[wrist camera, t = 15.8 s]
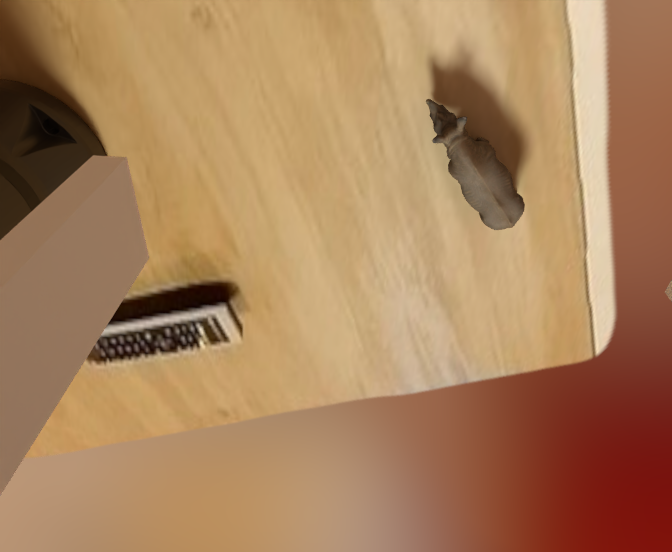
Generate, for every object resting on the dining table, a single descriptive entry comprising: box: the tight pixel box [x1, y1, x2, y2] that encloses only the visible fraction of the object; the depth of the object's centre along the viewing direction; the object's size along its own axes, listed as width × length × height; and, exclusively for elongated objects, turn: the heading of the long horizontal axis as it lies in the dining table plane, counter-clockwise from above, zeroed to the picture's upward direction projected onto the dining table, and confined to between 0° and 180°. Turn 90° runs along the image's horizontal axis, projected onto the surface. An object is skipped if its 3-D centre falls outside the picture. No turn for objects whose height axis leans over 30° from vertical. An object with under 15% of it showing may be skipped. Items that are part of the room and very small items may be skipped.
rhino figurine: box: [426, 99, 524, 230], centre depth 42 cm, size 4×14×6 cm, turn 38°
